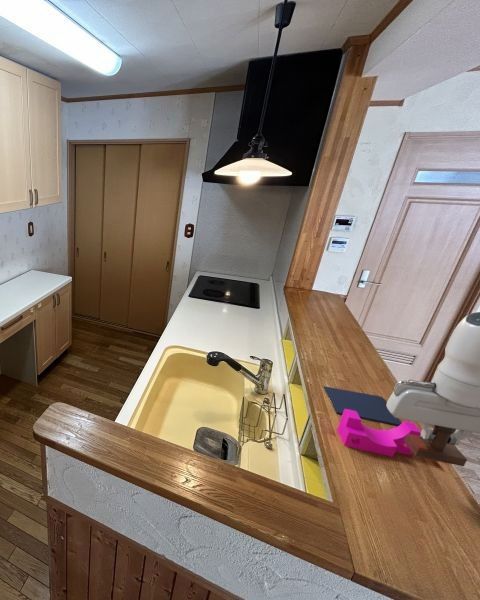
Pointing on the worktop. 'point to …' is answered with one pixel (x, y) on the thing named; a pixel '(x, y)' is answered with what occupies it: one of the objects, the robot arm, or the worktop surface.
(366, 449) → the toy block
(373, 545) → the worktop surface
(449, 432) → the stamp
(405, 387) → the robot arm
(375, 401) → the ink pad
